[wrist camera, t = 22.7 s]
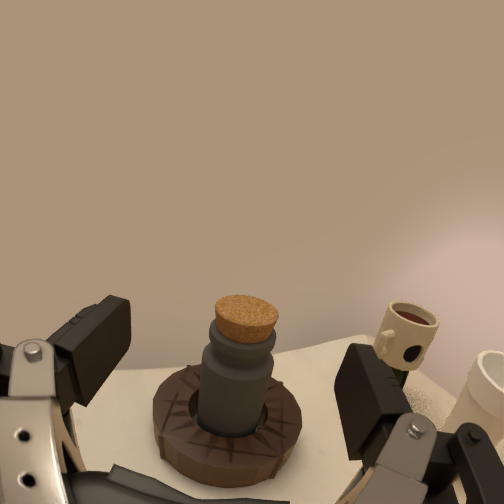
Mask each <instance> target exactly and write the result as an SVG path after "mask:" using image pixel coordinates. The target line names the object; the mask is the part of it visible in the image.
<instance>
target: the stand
mask: <svg viewBox="0 0 504 504" xmlns="http://www.w3.org/2000/svg"><path fill="white" fill-rule="evenodd" d="M200 374H201V364H200V365H194V366H191V365H187V367H186V368H184V369H182V370H180V371H177V372H175V373H173V374H172V375H171V376H170V377H168V378H167V379H166V380H165V381H164V382H163V383H162V384H161V385H160V386H159V388H158V390H157V392H156V394H155V396H154V398H153V423H154V431H155V439H156V442H157V444H158V446H159V449H160V457H161V458H163V459H164V458H165V459H166V460H167V461H168V462H169V463H170V464H171V465H172V466H173V467H174V468H175V469H176V470H177V471H178V472H180V473H181V474H183V475H185V476H187V477H189V478H191V479H193V480H195V481H197V482H199V483H202V484H207V485H212V486H217V487H223V488H232V487H242V486H250V485H253V484H256V483H258V482H260V481H263V480H265V479H267V478H274V477H275V475H276V473H277V471H278V470H279V469H280V468H281V467H282V466H283V465H284V464H285V463H286V461H287V459H288V457H289V456H290V454H291V452H292V450H293V448H294V446H295V444H296V442H297V439H298V436H299V434H300V431H301V429H302V417H301V409H300V407H299V405H298V403H297V402H296V400H295V398H294V396H293V394H291V393H290V392H289V391H288V390H287V389H286V388H285V387H284V386H283V382H279V381H277V380H275V379H274V378H272V377H271V379H270V383H269V386H268V390H267V393H266V397H265V401H264V404H263V408H262V411H261V414H260V418H259V421H258V424H257V425H258V427H259V430H258V431H257V432H256V433H254V434H252V435H249V436H246V437H243V438H225V437H219V436H215V435H213V434H211V433H209V432H206V431H204V430H203V429H202V428H201V427H199V426H198V425H197V424H196V423H195V422H194V421H193V419H192V417H193V416H194V415H195V414H196V413H198V399H199V386H200Z"/></svg>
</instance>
